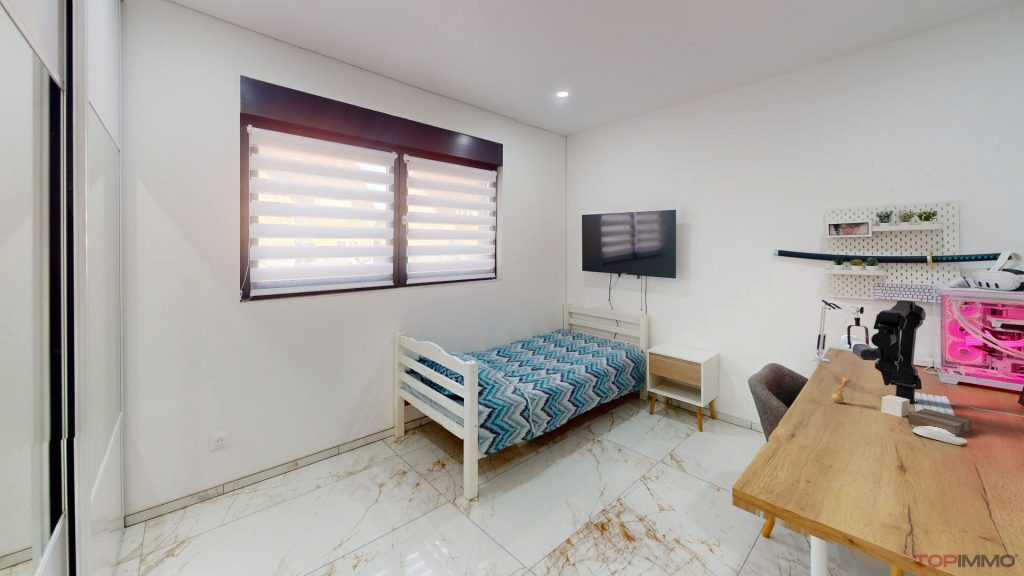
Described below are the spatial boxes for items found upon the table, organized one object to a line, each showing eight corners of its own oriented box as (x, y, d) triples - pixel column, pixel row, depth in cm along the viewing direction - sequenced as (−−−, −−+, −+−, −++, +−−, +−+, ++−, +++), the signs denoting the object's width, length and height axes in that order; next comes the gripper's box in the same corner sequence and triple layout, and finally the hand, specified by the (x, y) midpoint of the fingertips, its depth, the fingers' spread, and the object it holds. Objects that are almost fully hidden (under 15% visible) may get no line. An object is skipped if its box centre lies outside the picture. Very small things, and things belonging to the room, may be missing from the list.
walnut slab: (924, 418, 149) (924, 408, 149) (970, 430, 138) (971, 419, 138) (908, 424, 144) (908, 413, 144) (954, 437, 133) (955, 426, 133)
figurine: (835, 399, 170) (836, 372, 169) (853, 403, 164) (854, 375, 164) (827, 403, 165) (828, 375, 164) (845, 407, 160) (846, 379, 159)
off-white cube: (889, 409, 158) (890, 394, 157) (909, 414, 152) (909, 399, 152) (881, 411, 155) (882, 397, 155) (901, 417, 150) (901, 402, 150)
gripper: (866, 336, 164) (865, 372, 166) (857, 345, 153) (856, 383, 154) (903, 340, 156) (902, 378, 157) (897, 349, 144) (896, 390, 145)
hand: (888, 382), depth 154 cm, fingers open, 9 cm apart
